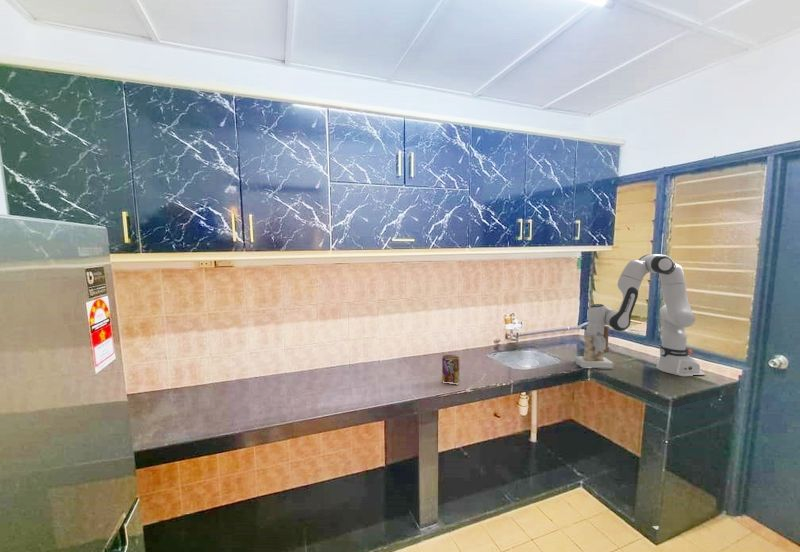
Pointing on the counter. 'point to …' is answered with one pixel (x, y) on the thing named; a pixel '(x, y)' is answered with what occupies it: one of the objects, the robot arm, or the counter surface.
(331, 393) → the counter surface
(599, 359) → the mottled tan box
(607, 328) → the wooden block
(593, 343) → the robot arm
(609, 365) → the end cap
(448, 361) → the candy box
